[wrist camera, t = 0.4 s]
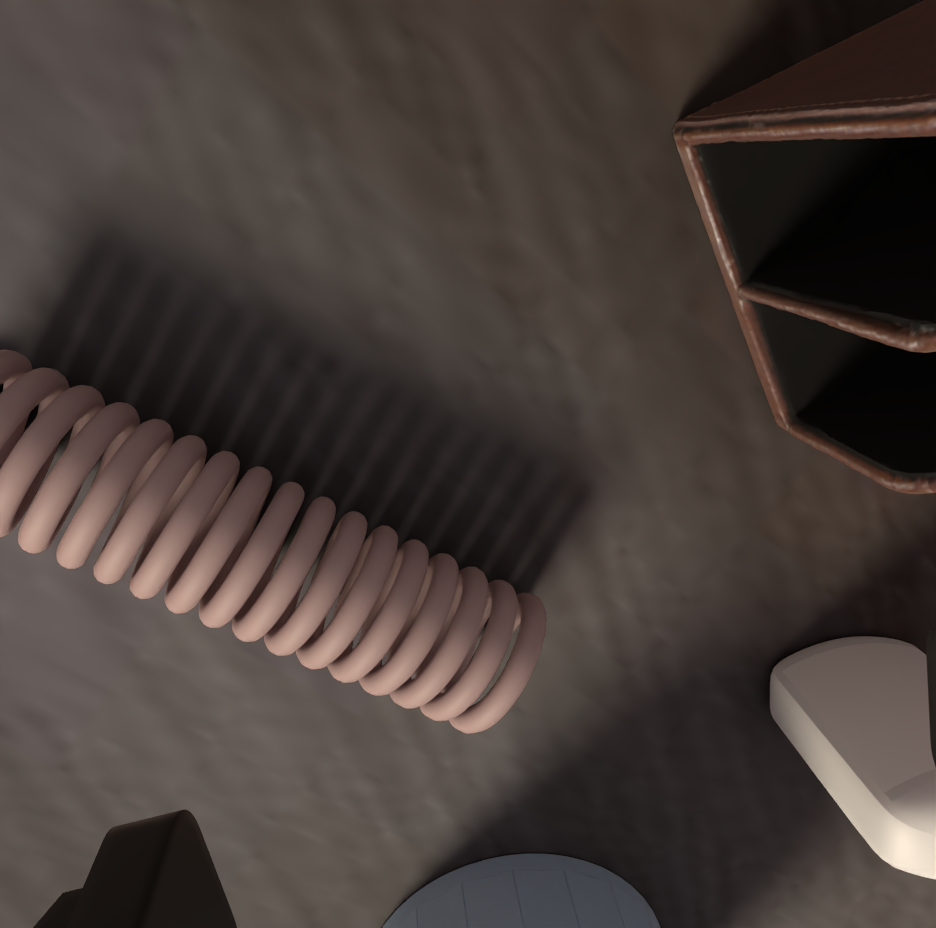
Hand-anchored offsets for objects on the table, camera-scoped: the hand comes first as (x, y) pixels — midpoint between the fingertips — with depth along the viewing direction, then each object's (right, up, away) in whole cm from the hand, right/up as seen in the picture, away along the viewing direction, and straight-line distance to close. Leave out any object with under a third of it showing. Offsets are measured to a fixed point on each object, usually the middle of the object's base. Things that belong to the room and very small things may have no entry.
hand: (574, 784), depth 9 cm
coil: (-8, +2, +17) cm, 19 cm away
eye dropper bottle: (+12, -4, +22) cm, 25 cm away
